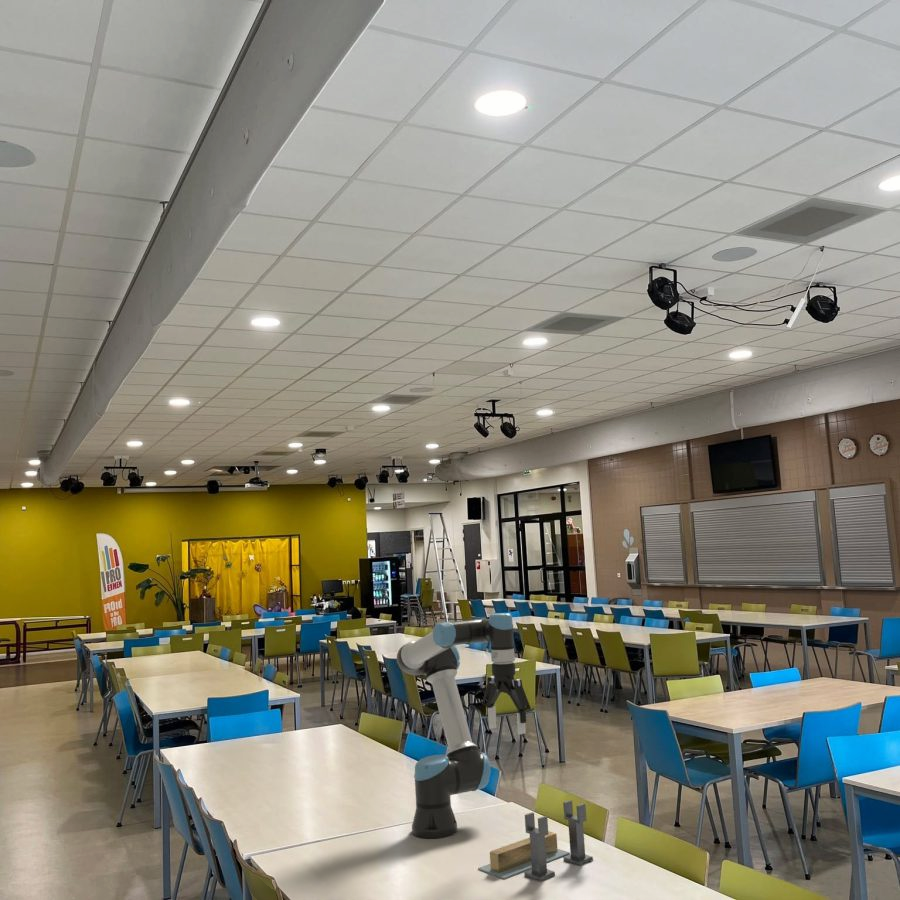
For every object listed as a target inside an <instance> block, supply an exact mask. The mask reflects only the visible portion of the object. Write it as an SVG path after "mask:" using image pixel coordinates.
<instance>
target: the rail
mask: <svg viewBox="0 0 900 900" xmlns="http://www.w3.org/2000/svg"><path fill="white" fill-rule="evenodd" d="M545 847H546V855H548V854H551V853H554V852H556V851H558V849H559V848H558V837H557V833H556V832H554V831H553V832H552V831H549V830H548V835H546V836H545ZM530 861H531V850H530V837H528V838H524V839H521V840H519V841H516V842H513V843H510V844H508V845H505V846H501V847H498V848H496V849H492V850H490V851H489V864H490V865H491V870H492V871H495V872H497V873H501V872H503V871H506V870H509V869H511V868H514V867H517V866H519V865H522V864H525V863H527V862H530Z"/></svg>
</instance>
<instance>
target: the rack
mask: <svg viewBox="0 0 900 900" xmlns="http://www.w3.org/2000/svg"><path fill="white" fill-rule="evenodd" d="M562 803H563V816H564V817H563V819H564V820H566V821H568V837H569V839H568V840H569V849H570V851H569V852H570V854H569V855H566V856H564V857H562V858H563V861H564V862H566V863H568V864H569V863H570V864H572V865H575V866H578V867H579V866H582V865H584V864H587V863H590V862H592V861H594V856H592V855H589V854H586V848H585V846H586V845H585V834H584V823H585V822H587V811H586V810H587V807H586V803H584V802H583V803H580V804H577V805H576V814H574V808H573V799H572V800H571V799H570V800H566V801H563V802H562ZM535 820H536V819H535V812H529V813H526V814H524V825H525V833H526V834H529V838H530V850H531V865H532V869H530V870H527V871H525V872H523V874H524V877H526V878H529V879H532V880H534V881H538V882H539V883H540V882H542V881H545V880H548V879H550V878H553V877H554V876H556V872H555V871H554V870H550V869H548V863H547V862H546V847H545V836H546V835H548V831H549V825H548V824H549V821H548V816H547V815H544V816H541V817H538V818H537V827H538V828H537V827H536V821H535Z"/></svg>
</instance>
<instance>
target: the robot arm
mask: <svg viewBox="0 0 900 900" xmlns="http://www.w3.org/2000/svg"><path fill="white" fill-rule="evenodd" d="M433 627H434V628H433V629H432V631H431V632H430V633H428V634H427V635H424V636H422V637H420V638H419V639H418V640H416V641H410V642H407V643H405V644H404V645H402V646H401V647H400V648H399V649H398V652H397V654H396V662H397V665H398V667H399V668H400V670H401V671H403V672H404V673H405V674H408V675H410V676H411V675H412V676H422V675H425V678H426V682H428V683H429V684H430V685H431V686H432V688H433V693H434V697H435V701H436V704H437V709H438V712H439V717H440V721H441V725H442V729H443V733H444V735H445V739H446V743H447V748H448V751H447V752H446V754H436V755H435V754H434V755H428V756H426V757H423V758H420V759H419V760H417V762H416V764H415V765H414V775H413V776H414V787H415V789H414V791H415V805H416V806H415V807H416V808H415V813H414V816H413V821H412V823H411V833H412V835H413V836H415V837H418V838H422V839H439V838H444V837H448V836H452V835H454V834H455V833H457V831H458V824H457V823H458V822H457V819H456V817H455V814H454V811H453V808H452V802H451V796H454V795H459V794H463V793H467V792H468V793H469V792H476V791H478V790H481V789H484V788H485V787H486V786H487V785H488V784H489V781H490V778H491V777H490V776H491V763H490V760H489V757H488V755H487V754H486V753H485V752H483V751H480V749H479V745H477V744H475V743H474V742H473V740H472V737H471V736H472V735H471V732H470V729H469V725H468V722H467V718H466V714H465V711H464V707H463V703H462V700H461V696H460V693H459V688H458V685H457V682H456V676H457V674H458V669H459V668H460V664H461V661H460V658H461V657H460V654H459V652H460V651H458V648H457V647H456V646H459V645H468V644H477V643H489V644H490V652H491V656H490V657H491V662H492V664H491V674H492V676H491V675H490V676H487V677H486V679H487V681H486V686H485V689H484V694H483V698H482V700H481V705H483V706H485V707H486V712H487V715H486V716H487V718H488V719H487V720H488V721H487V722H488V730H493V729H497V712H496V711H497V707H496V705H495V703H496V701H497V700H498V698H499V696H500V695H501V693H504V694H507V695H508V696H509V697H510V699H511V701H512V703H513V704H514V706H515V708H516V709H517V712H516V723H517V727H516V728H517V735H523V734H524V735H525V734H526V733H527V732H526V731H527V730H526V723H527V711H531V708H532V707H531V705H530V703H529V700H528V697H527V695H526V692H525V689H524V687H523V680H522V679H521V678H518V679H515V677H514V676H515V675H516V672H517V671H516V663H515V660H516V657H515V656H516V655H515V641H514V640H515V639H514V624H513V615H511V613H508V612H507V613H506V612H505V613H502V612H501V613H500V612H499V613H490V615H489V618H485V617H482V618H474V619H467V620H458V621H457V620H456V621H443V622H438V623H436V624H435V625H434V626H433Z"/></svg>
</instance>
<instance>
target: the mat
mask: <svg viewBox="0 0 900 900" xmlns="http://www.w3.org/2000/svg"><path fill="white" fill-rule="evenodd" d="M557 849H558V851H556V852H554V853H551V854H548V855H546V862H547V864H548V863H550V861H551V862H552V861H555V859H556V860H558V859H561V858H563V857H565V856H568V855H571V853H570V851H567V850H563V849H560V848H557ZM477 870H478V871H481V872H484V873H486V874H489V875H491V876H494V877H497V878H500V879H501V880H506V879H509V878H511V877H513V876H516V875H519V874H521V873H524V872H526V871H529V870H532V865H531V861H530V862H527V863H525V864H522V865H519V866H517V867H514V868H511V869H509V870H506V871H503V872H501V873H497V872H495V871H492V870H491V865H490V863H488V864H486V865H482V866H480V867H478V868H477Z"/></svg>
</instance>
